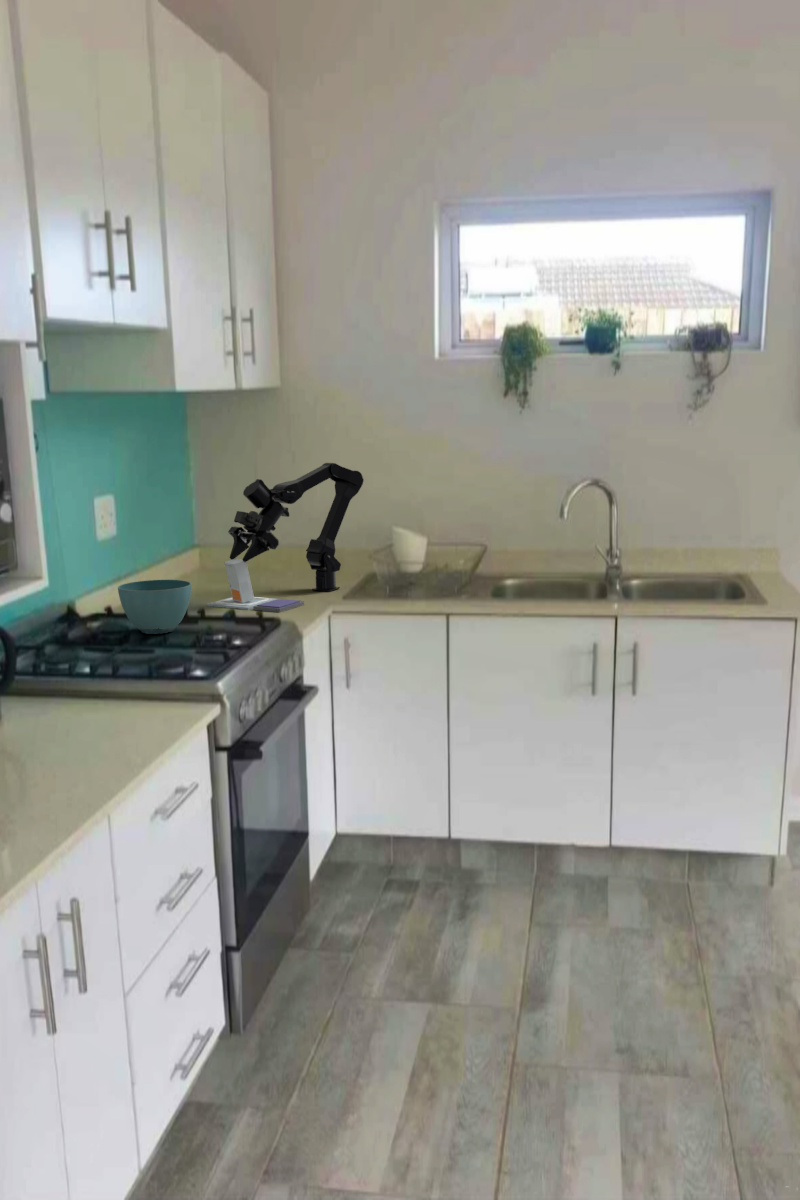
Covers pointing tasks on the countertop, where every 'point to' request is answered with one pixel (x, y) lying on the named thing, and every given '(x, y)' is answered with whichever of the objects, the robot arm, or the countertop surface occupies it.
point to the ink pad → (279, 605)
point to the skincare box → (239, 580)
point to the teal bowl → (155, 602)
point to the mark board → (235, 604)
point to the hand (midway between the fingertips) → (237, 560)
